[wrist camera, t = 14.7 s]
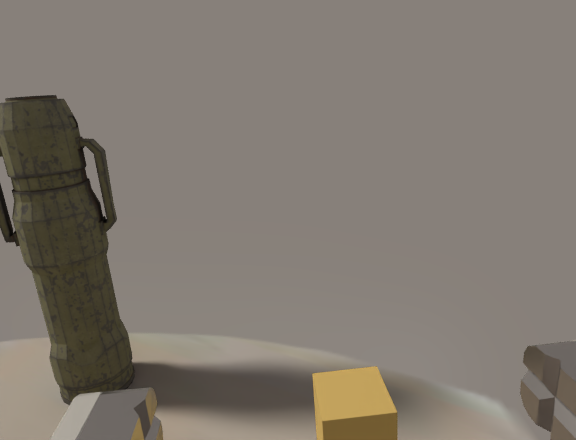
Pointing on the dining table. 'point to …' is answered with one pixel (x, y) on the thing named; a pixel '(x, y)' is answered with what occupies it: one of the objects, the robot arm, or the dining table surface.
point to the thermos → (65, 242)
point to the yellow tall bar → (353, 406)
